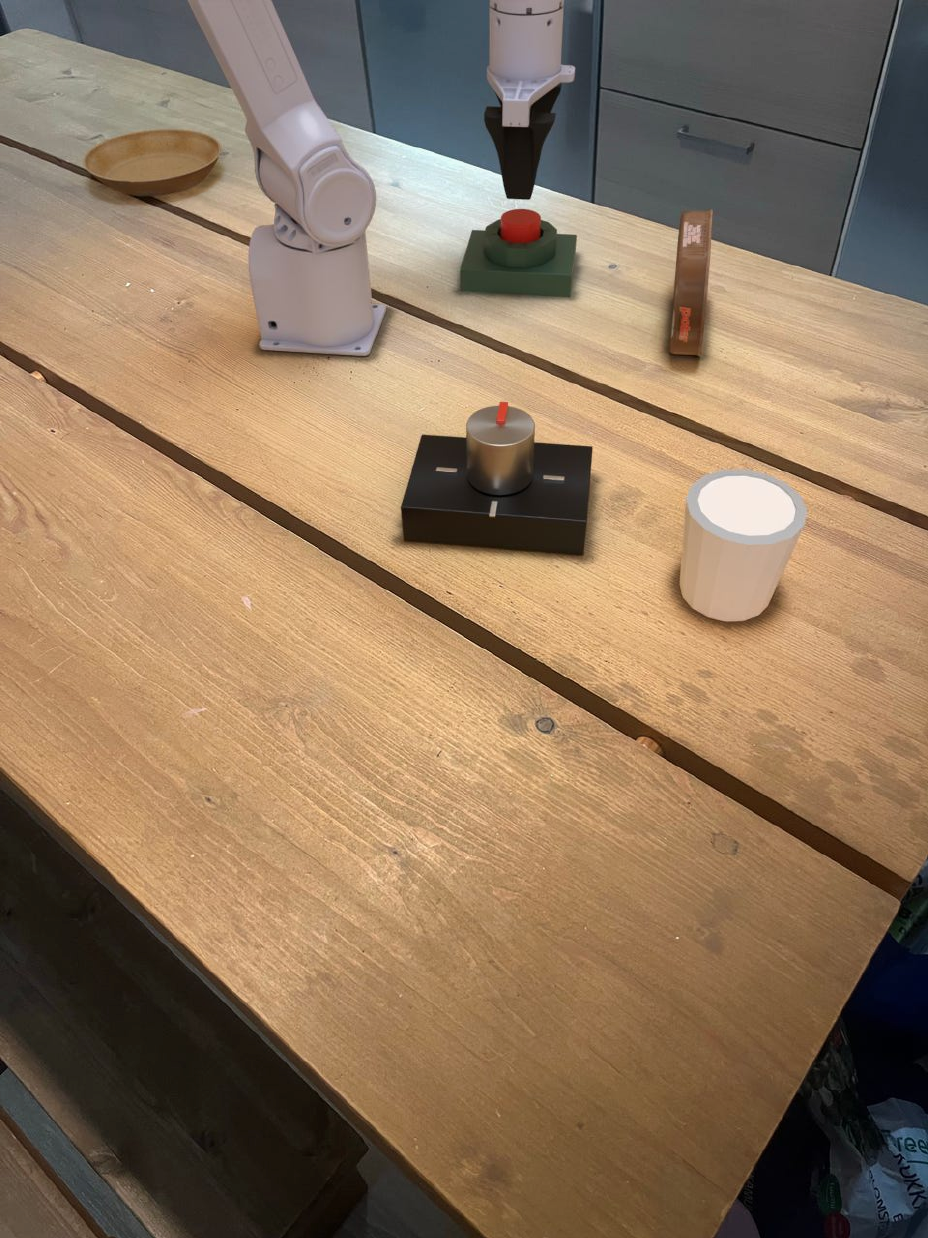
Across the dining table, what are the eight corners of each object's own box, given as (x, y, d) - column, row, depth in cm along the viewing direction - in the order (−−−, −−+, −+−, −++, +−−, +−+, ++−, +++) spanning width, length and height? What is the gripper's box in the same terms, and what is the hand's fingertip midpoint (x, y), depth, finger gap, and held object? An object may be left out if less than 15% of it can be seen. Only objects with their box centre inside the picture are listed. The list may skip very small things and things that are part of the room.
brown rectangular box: (699, 376, 77) (717, 277, 71) (659, 372, 77) (674, 274, 71) (704, 286, 87) (721, 192, 81) (669, 283, 87) (683, 190, 81)
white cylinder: (757, 645, 57) (784, 559, 52) (652, 602, 59) (667, 517, 54) (795, 576, 61) (823, 490, 56) (694, 539, 63) (713, 453, 58)
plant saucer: (163, 142, 113) (158, 118, 111) (253, 169, 107) (249, 145, 105) (62, 185, 105) (54, 160, 103) (152, 217, 99) (146, 192, 97)
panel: (402, 544, 64) (399, 507, 61) (424, 465, 69) (422, 429, 67) (583, 559, 62) (586, 522, 60) (589, 477, 68) (593, 441, 66)
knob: (530, 497, 62) (532, 443, 59) (462, 493, 62) (461, 439, 59) (535, 456, 65) (537, 403, 62) (471, 452, 65) (470, 399, 62)
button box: (460, 291, 87) (459, 249, 84) (472, 251, 92) (471, 210, 89) (570, 297, 86) (573, 255, 83) (575, 256, 91) (578, 215, 88)
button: (498, 244, 85) (498, 224, 84) (502, 226, 88) (503, 207, 87) (538, 246, 85) (539, 226, 84) (541, 228, 87) (542, 209, 86)
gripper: (573, 34, 68) (561, 223, 78) (583, -20, 78) (572, 153, 88) (474, 32, 69) (476, 219, 79) (497, -22, 78) (496, 150, 88)
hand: (521, 184), depth 83 cm, fingers open, 5 cm apart
